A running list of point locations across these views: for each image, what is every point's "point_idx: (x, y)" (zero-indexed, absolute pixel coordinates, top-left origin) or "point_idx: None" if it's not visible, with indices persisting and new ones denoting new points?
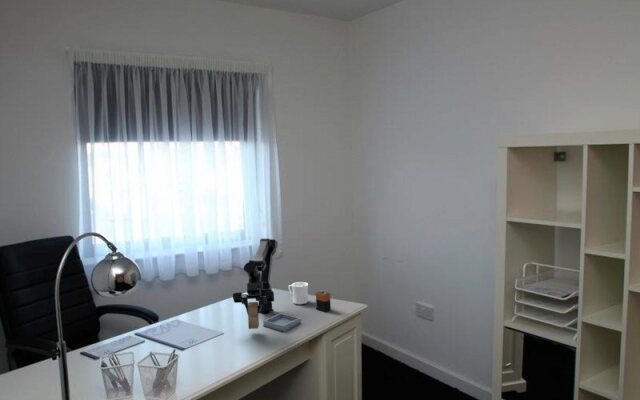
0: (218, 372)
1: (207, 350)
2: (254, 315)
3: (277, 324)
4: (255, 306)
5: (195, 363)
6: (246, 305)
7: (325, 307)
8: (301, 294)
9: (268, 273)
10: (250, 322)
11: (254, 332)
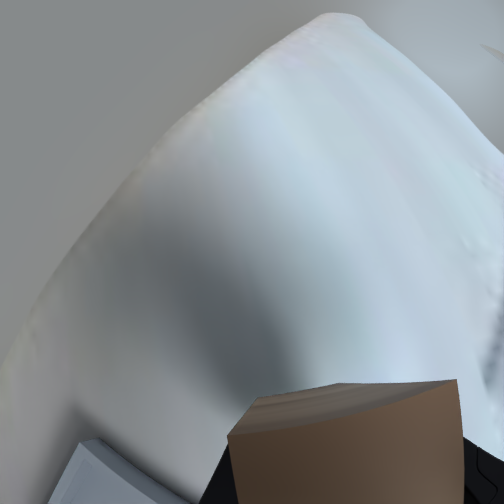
0: (312, 52)
1: (450, 170)
2: (291, 401)
3: (125, 485)
4: (273, 426)
5: (417, 91)
6: (474, 463)
7: None
8: None
9: None
10: (331, 387)
11: None
